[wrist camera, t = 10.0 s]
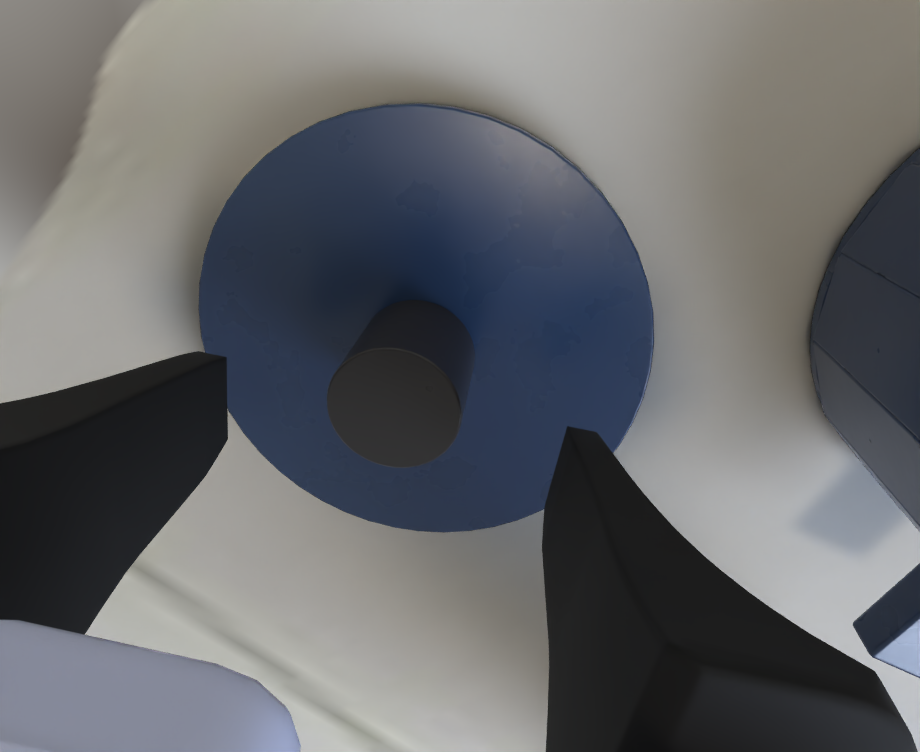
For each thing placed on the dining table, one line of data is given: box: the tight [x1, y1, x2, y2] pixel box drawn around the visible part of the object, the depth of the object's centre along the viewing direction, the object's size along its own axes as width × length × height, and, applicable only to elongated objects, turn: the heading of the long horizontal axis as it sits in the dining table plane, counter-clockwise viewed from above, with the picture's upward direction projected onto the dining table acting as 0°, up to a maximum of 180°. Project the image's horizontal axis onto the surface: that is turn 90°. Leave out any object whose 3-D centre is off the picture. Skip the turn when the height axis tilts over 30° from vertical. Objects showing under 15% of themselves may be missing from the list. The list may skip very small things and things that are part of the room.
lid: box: [199, 103, 654, 532], centre depth 15 cm, size 12×12×4 cm
